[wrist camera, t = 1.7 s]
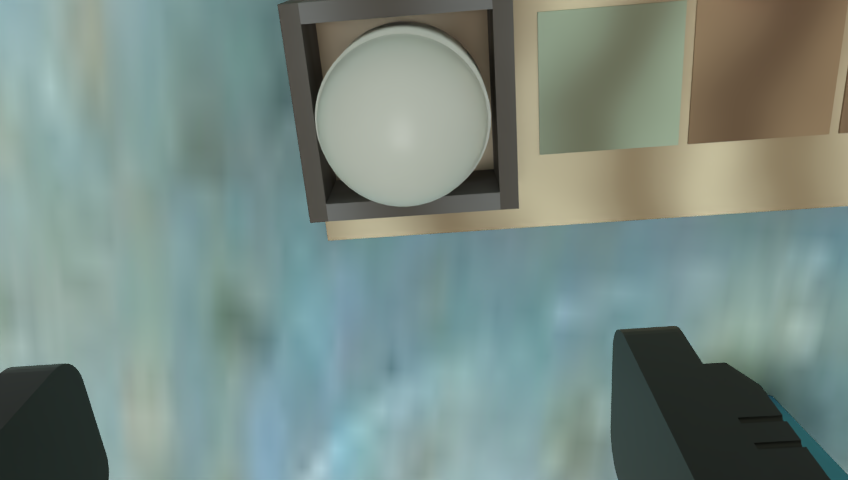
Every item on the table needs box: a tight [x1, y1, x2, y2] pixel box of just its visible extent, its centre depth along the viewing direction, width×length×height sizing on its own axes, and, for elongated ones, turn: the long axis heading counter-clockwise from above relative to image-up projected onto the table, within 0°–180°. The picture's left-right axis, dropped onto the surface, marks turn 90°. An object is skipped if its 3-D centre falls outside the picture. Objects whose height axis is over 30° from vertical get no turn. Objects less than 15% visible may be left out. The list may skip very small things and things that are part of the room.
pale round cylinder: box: [315, 21, 491, 207], centre depth 24 cm, size 6×6×6 cm
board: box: [278, 0, 848, 241], centre depth 27 cm, size 28×12×5 cm, turn 94°
